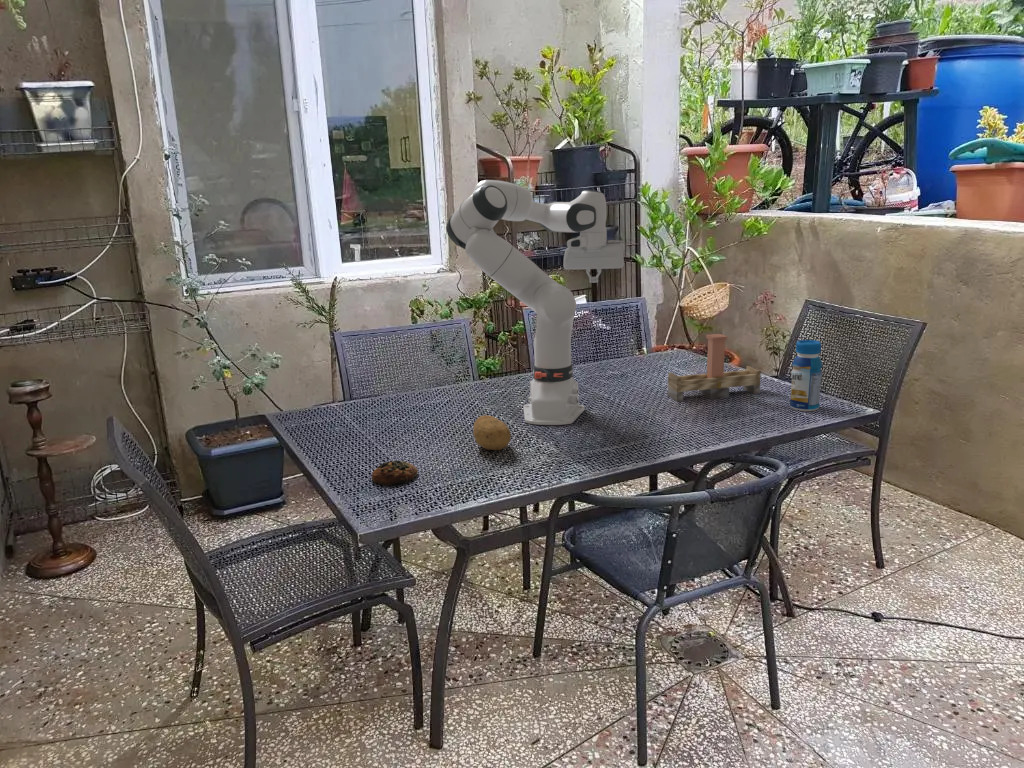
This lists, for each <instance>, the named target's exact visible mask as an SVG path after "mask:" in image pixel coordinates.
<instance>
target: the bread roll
mask: <svg viewBox="0 0 1024 768" xmlns="http://www.w3.org/2000/svg"><path fill="white" fill-rule="evenodd" d="M418 472H419V470H418V468H417V467H416V466H415V465H414V464H412V463H410V462H407V461H405V460H402V461H401V460H397V459H395V460H392V461H388V462H382V463H381V464H379V466H377V468H376V469H374V470H373V472H372V473H371V475H372V476H371V480H372V481H373V482H374V483H376V484H379V485H382V486H387V487H389V486H401V485H405V484H406V483H410V482H411V481H413V480H414V479H415V477H417V476H418Z"/></svg>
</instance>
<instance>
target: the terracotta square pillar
mask: <svg viewBox="0 0 1024 768" xmlns="http://www.w3.org/2000/svg"><path fill="white" fill-rule="evenodd" d="M705 339H707V359H706V361H707V362H706V374H707V378H714V377H723V375H724V372H725V345H726V341H727V340H728V336H727V335H725V334H721V333H711V334H705Z"/></svg>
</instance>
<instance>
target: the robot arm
mask: <svg viewBox="0 0 1024 768" xmlns="http://www.w3.org/2000/svg"><path fill="white" fill-rule="evenodd" d="M607 212H608V211H607V201H606V196H605V194H604V193H603V192H601V191H598V190H591V189H589V190H587V189H585V190H583V191H581V194H580V195H578V196H577V197H575V199H573V200H571V201H554V200H553V201H548V202H545V203H541V202H537V201H535V200H533V196H532V193H531V191H530V190H529V189H527V188H525V187H523V186H521V185H518V184H516V183H513V182H508V181H504V180H498V179H497V180H496V179H495V180H494V179H484V180H481V181H479V182H478V183H477V184H476V186H474V188H473V192H472V194H471V195H470V196H468V197H467V198H466V199H465V200H463V202H461V203H460V205H458V207H457V209H455V211H454V213H453V214H451V215H450V217H449V219H448V220H447V222H446V225H445V226H446V227H445V229H446V233H447V235H448V237H449V239H450V240H451V241H452V242H453V243H454V244H455V245H456V246H457V247H460V248H462V249H463V250H465V253H466V255H467V257H468V258H469V259H470V261H472V263H474V265H476V267H478V268H479V269H480V270H481V271H482V272H483V273H484V274H486V275H487V276H488V277H489V278H491V279H492V280H493V281H495V282H496V283H497V284H498V285H500V287H502V288H503V289H505V290H506V291H507V292H508V293H510V294H511V295H512V296H514V297H515V298H516V299H518V300H519V301H520V302H521V303H523V304H524V305H525V306H526V307H528V308H529V309H530V310H532V311H533V312H534V313H535V314H536V326H535V333H534V338H533V348H534V349H533V350H534V353H533V356H534V357H533V358H534V364H533V366H532V378H533V379H532V380H530V381H529V396H528V398H527V401H528V402H529V403H528V404H527V403H526V404H523V407H522V408H523V416H524V417H523V418H524V422H525V423H526V424H531V425H539V426H562V425H570V424H573V423H574V422H575V421H576V420H577V419H578V418H579V417H580V415H581V414H582V413H583V412H584V411H585V410H586V408H585V407H586V406H584V405H583V404H580V401H579V400H580V399H579V383H578V382H577V381H576V380H575V379H574V377H573V376H574V367H573V366H574V365H573V363H572V333H573V327H574V326H573V325H574V319H575V313H576V310H577V302H576V298H575V295H574V294H573V292H572V291H571V290H570V288H567V287H566V286H564V285H562V284H560V283H559V282H557V281H556V280H554V279H553V278H552V277H551V276H550V275H548V274H547V273H546V272H545V271H544V270H543V269H541V268H540V267H539V266H538V265H537V264H536V263H535V262H534V261H532V260H531V259H530V258H528V257H527V256H526V255H525V254H523V253H522V252H521V251H520V250H518V249H517V248H516V247H514V245H512V244H511V243H509V242H508V241H507V240H506V239H504V238H502V237H501V236H500V235H498V234H496V232H495V230H494V227H495V226H496V225H497V223H498V222H499V221H500V220H503V221H508V222H510V221H511V222H523V221H529V222H533V223H536V224H538V225H539V226H541V228H543V229H544V230H546V231H547V232H549V233H579V236H574V237H572V238H571V239H568V240H567V241H566V246H567V247H566V249H565V251H564V256H563V265H562V266H563V268H564V270H565V271H566V270H567V271H569V270H570V271H571V270H572V271H573V270H585V272H586V274H587V276H588V279H589V283H590V284H591V283H593V284H594V283H597V284H598V283H599V277H600V275H601V273H602V269H603V270H607V269H609V270H610V269H622V268H623V267H625V259H624V253H625V251H626V244H625V242H624V241H622V240H620V239H616V240H614V239H613V240H611V239H607V237H608V234H607V233H608V231H607V230H608V229H607V227H606V222H607V216H608V215H607V214H608V213H607ZM591 270H596V272H597V274H596V276H592V275H591V274H590V273H591Z"/></svg>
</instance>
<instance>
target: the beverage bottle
mask: <svg viewBox="0 0 1024 768" xmlns="http://www.w3.org/2000/svg"><path fill="white" fill-rule="evenodd" d="M821 352H822V342H820V341H819V340H816V339H801V340H797V341H796V346H795V353H796V354H797V355H796V356H795V358H794V359H793V361H792V364H791V365H792V370H791V374H790V376H791V385H790V389H791V390H790V401H789V406H790V409H792V410H796V411H798V410H799V412H814V411H817V410H819V409H820V396H821V395H820V394H821V384H822V383H821V382H822V378H823V372H822V368H823V362H822V360H821V358H820V356H819V355H820V354H821Z"/></svg>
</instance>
